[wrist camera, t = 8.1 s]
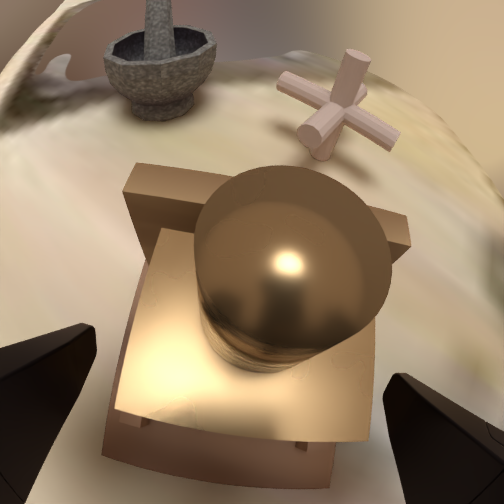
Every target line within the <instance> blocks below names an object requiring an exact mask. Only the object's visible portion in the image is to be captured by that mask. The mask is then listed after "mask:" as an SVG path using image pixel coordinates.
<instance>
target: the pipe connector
mask: <svg viewBox="0 0 504 504" xmlns="http://www.w3.org/2000/svg"><path fill="white" fill-rule="evenodd" d="M370 62H371V59H370V58H369V57H368V56H367V55H366V54H364V53H362V52H359V51H357V50H353V49H347V50H346V52H345V55H344V57H343V60H342V63H341V66H340V69H339V72H338V74H337V77H336V80H335V83H334V86H333V88H332V91H331V92H330V91H328V90H326V89H324V88H322V87H320V86H318V85H316V84H314V83H312V82H310V81H308V80H306V79H303V78H301V77H299V76H297V75H295V74H292V73H290V72H288V71H285V72H284V73H282V74H281V76H280V77H279V79H278V82H277V87H276V88H277V90H278V91H280V92H283V93H285V94H287V95H289V96H291V97H293V98H295V99H297V100H299V101H301V102H303V103H305V104H307V105H309V106H311V107H313V108H315V109H317V110H318V111H317V112H315V113H314V114H313V115H312V116H311V117H310V118H308V119H307V120H306V121H305V122H304V123H303V124H302V125H301V126H300V127H299V128H298V129H297V137H298V139H299V140H300V142H301V143H302V144H303V145H304V146H306V147H309V148H311V149H310V154H311V155H312V156H313V157H314V158H315V159H317V160H320V161H326V160H328V159H329V158H330V156H331V153H332V151H333V149H334V147H335V144H336V142H337V140H338V137H339V135H340V133H341V131H342V128H343V126H344V125H346V126H348V127H350V128H351V129H353V130H355V131H356V132H358V133H360V134H361V135H363V136H365V137H366V138H368V139H370V140H371V141H373V142H374V143H376V144H377V145H379V146H381V147H382V148H384V149H385V150H387V151H388V152H390V151H391V149H392V148H393V146H394V144H395V142H396V141H397V139H398V137H399V135H400V133H401V132H399V131H398V130H396V129H395V128H393V127H392V126H390V125H388V124H387V123H385V122H384V121H382V120H380V119H379V118H377V117H375V116H374V115H372V114H370V113H369V112H367V111H365V110H364V109H362V108H360V107H358V106H357V105H358V104H359V103H360V102H361V101H362V100H363V99H364V98H365V96H366V95H367V88H366V86H365V85H364V84H363V83H362V81H363V79H364V76H365V74H366V72H367V69H368V67H369V64H370Z"/></svg>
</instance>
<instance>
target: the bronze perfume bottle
mask: <svg viewBox="0 0 504 504" xmlns="http://www.w3.org/2000/svg"><path fill="white" fill-rule="evenodd" d="M391 276H392V260H391V253H390V248H389V245H388V241H387V238H386V236H385V233H384V231H383V229H382V227H381V225H380V223H379V221H378V220H377V218H376V217H375V215H374V214H373V212H372V211H371V210H370V208H369V207H368V206H367V205H366V204H365V203H364V202H363V200H361V199H360V198H359V197H358V196H357V195H356V194H355V193H354V192H352V191H351V190H350V189H349V188H347V187H346V186H344V185H343V184H341V183H340V182H338V181H336V180H334V179H332V178H330V177H328V176H326V175H324V174H321V173H319V172H316V171H313V170H309V169H306V168H300V167H295V166H283V165H281V166H266V167H259V168H256V169H252V170H248V171H246V172H243V173H241V174H238V175H237V176H235V177H233V178H231V179H229V180H228V181H226V182H225V183H224V184H222V185H221V186H220V187H219V188H218V189H217V190H216V191H215V192H214V193H213V194H212V195H211V196H210V198H209V199H208V200H207V201H206V203H205V205H204V207H203V208H202V210H201V212H200V215H199V217H198V220H197V223H196V228H195V233H194V234H193V233H188V232H182V231H177V230H171V229H166V228H161V231H160V234H159V237H158V240H157V243H156V246H155V249H154V252H153V255H152V259H151V262H150V265H149V268H148V272H147V275H146V278H145V282H144V285H143V289H142V292H141V296H140V299H139V303H138V307H137V310H136V314H135V318H134V322H133V326H132V330H131V333H130V338H129V342H128V346H127V350H126V354H125V359H124V363H123V368H122V372H121V377H120V382H119V387H118V392H117V397H116V402H115V408H114V409H118V410H121V411H124V412H128V413H131V414H134V415H138V416H142V417H145V418H149V419H153V420H157V421H161V422H165V423H170V424H174V425H178V426H183V427H188V428H193V429H198V430H204V431H209V432H215V433H222V434H228V435H235V436H243V437H252V438H261V439H272V440H285V441H305V442H358V441H368V439H369V430H370V421H371V410H372V398H373V382H374V361H375V316H376V315H377V314H378V312H379V311H380V309H381V307H382V306H383V304H384V302H385V299H386V297H387V295H388V291H389V288H390V284H391Z"/></svg>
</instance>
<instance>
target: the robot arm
mask: <svg viewBox="0 0 504 504" xmlns="http://www.w3.org/2000/svg"><path fill="white" fill-rule="evenodd" d="M96 353H97V346H96V333H95V328H94V327H93V326H91V325H88V324H85V323H79V324H76V325H73V326H70V327H67V328H63V329H60V330H57V331H54V332H51V333H48V334H44V335H41V336H38V337H35V338H31V339H28V340H25V341H22V342H18V343H15V344H12V345H9V346H5V347H2V348H0V504H24V503H25V502H26V500H27V498H28V495H29V493H30V491H31V489H32V487H33V484H34V482H35V480H36V478H37V476H38V474H39V472H40V469H41V467H42V465H43V463H44V461H45V459H46V457H47V455H48V453H49V451H50V449H51V447H52V445H53V443H54V441H55V439H56V437H57V435H58V434H59V432H60V430H61V428H62V426H63V424H64V422H65V420H66V419H67V417H68V415H69V413H70V411H71V409H72V408H73V406H74V404H75V402H76V400H77V398H78V396H79V394H80V392H81V390H82V388H83V385H84V383H85V380H86V378H87V376H88V373H89V371H90V369H91V366H92V364H93V362H94V359H95V357H96ZM383 405H384V410H385V416H386V421H387V427H388V433H389V438H390V442H391V446H392V450H393V454H394V457H395V461H396V465H397V469H398V473H399V477H400V481H401V485H402V489H403V493H404V498H405V502H406V504H504V431H502V430H500V429H498V428H496V427H495V426H493V425H491V424H490V423H488V422H485V421H484V420H483V419H481V418H479V417H478V416H476V415H474V414H473V413H471V412H469V411H468V410H466V409H464V408H463V407H461V406H459V405H458V404H456V403H454V402H453V401H451V400H449V399H448V398H446V397H444V396H443V395H441V394H440V393H438V392H436V391H435V390H433V389H431V388H430V387H428V386H426V385H425V384H423V383H422V382H420V381H418V380H417V379H415V378H413V377H412V376H410V375H409V374H407V373H395V374H393V375H392V377H391V379H390V381H389V383H388V385H387V387H386V389H385V391H384V393H383Z"/></svg>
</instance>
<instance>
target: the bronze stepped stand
mask: <svg viewBox="0 0 504 504" xmlns="http://www.w3.org/2000/svg"><path fill="white" fill-rule="evenodd" d="M231 178H233V177H232V176H226V175H221V174H215V173H208V172H202V171H195V170H189V169H182V168H175V167H168V166H160V165H152V164H144V163H136V164H135V166H134V168H133V170H132V172H131V174H130V176H129V178H128V180H127V182H126V184H125V186H124V188H123V191H122V192H123V195H124V198H125V201H126V204H127V208H128V210H129V213H130V216H131V219H132V222H133V225H134V228H135V231H136V234H137V236H138V239H139V242H140V245H141V247H142V250H143V253H144V255H145V258H146V260H145V263H144V266H143V269H142V273H141V276H140V279H139V283H138V286H137V290H136V293H135V297H134V300H133V304H132V307H131V311H130V315H129V319H128V322H127V326H126V330H125V334H124V338H123V342H122V347H121V351H120V355H119V360H118V364H117V369H116V373H115V378H114V383H113V388H112V393H111V399H110V404H109V410H108V415H107V421H106V427H105V434H104V441H103V448H102V455H103V456H105V457H108V458H111V459H114V460H117V461H121V462H124V463H127V464H130V465H134V466H137V467H141V468H144V469H148V470H152V471H156V472H160V473H164V474H169V475H173V476H178V477H183V478H188V479H194V480H199V481H205V482H212V483H219V484H227V485H235V486H245V487H258V488H276V489H322V488H329V486H330V480H331V474H332V468H333V461H334V454H335V447H336V442H305V441H285V440H272V439H261V438H252V437H243V436H235V435H228V434H222V433H215V432H209V431H204V430H198V429H193V428H188V427H183V426H178V425H174V424H170V423H165V422H161V421H157V420H153V419H149V418H145V417H142V416H138V415H134V414H131V413H128V412H124V411H121V410H118V409H114V408H115V402H116V397H117V392H118V387H119V382H120V377H121V372H122V368H123V363H124V359H125V354H126V350H127V346H128V342H129V338H130V333H131V330H132V326H133V322H134V318H135V314H136V310H137V307H138V303H139V299H140V296H141V292H142V289H143V285H144V282H145V278H146V275H147V272H148V268H149V265H150V262H151V259H152V255H153V252H154V249H155V246H156V243H157V240H158V237H159V234H160V231H161V228H166V229H171V230H177V231H182V232H188V233H193V234H194V233H195V228H196V223H197V220H198V217H199V215H200V212H201V210H202V208H203V207H204V205H205V203H206V201H207V200H208V199H209V198H210V196H211V195H212V194H213V193H214V192H215V191H216V190H217V189H218V188H219V187H220V186H221V185H222V184H224V183H225V182H226V181H228V180H229V179H231ZM367 206H368V205H367ZM368 207H369V208H370V210H371V211H372V212H373V214H374V215H375V217H376V218H377V220H378V221H379V223H380V225H381V227H382V229H383V231H384V233H385V236H386V238H387V241H388V245H389V248H390V253H391V260H392V264H393V263H394V262H395V261H396V260H397V259H398V258H400V257H401V256H402V255H403V254H404V253H405V252H406V251H407V250H408V249H409V248H410V247H411V240H410V234H409V228H408V222H407V216H405V215H402V214H398V213H394V212H391V211H387V210H383V209H379V208H376V207H372V206H368Z"/></svg>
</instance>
